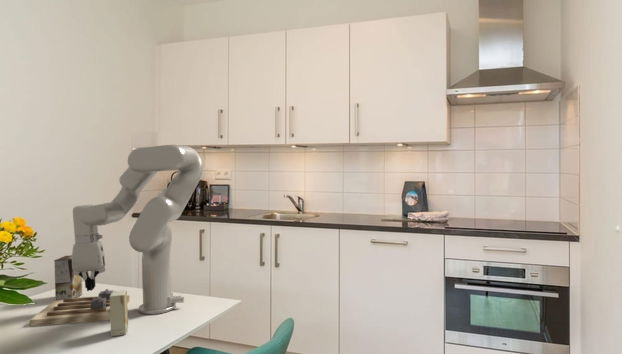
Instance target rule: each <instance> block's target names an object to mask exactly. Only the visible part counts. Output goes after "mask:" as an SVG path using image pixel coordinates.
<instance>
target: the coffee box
mask: <svg viewBox="0 0 622 354" xmlns="http://www.w3.org/2000/svg"><path fill="white" fill-rule="evenodd" d="M54 289H55V290H54V292H55V293H54V295H55V301H58V300H63V299H68V298H80V297H81V296H82V295H83V278H82V277H81V276H79V275H73V269H72V254H71V255H64V256H61V257H59V258H56V259H54Z"/></svg>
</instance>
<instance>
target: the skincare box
mask: <svg viewBox="0 0 622 354" xmlns="http://www.w3.org/2000/svg"><path fill="white" fill-rule="evenodd" d="M127 296H128V290H127V289H126V290H125V289H123V290H115V291H114V290H113V292H112V293H111V295H110V320H109V321H110V337H116V336H125V335H126V334H127V332H128V329H129V315H128V314H129V312H128V303H127Z"/></svg>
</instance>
